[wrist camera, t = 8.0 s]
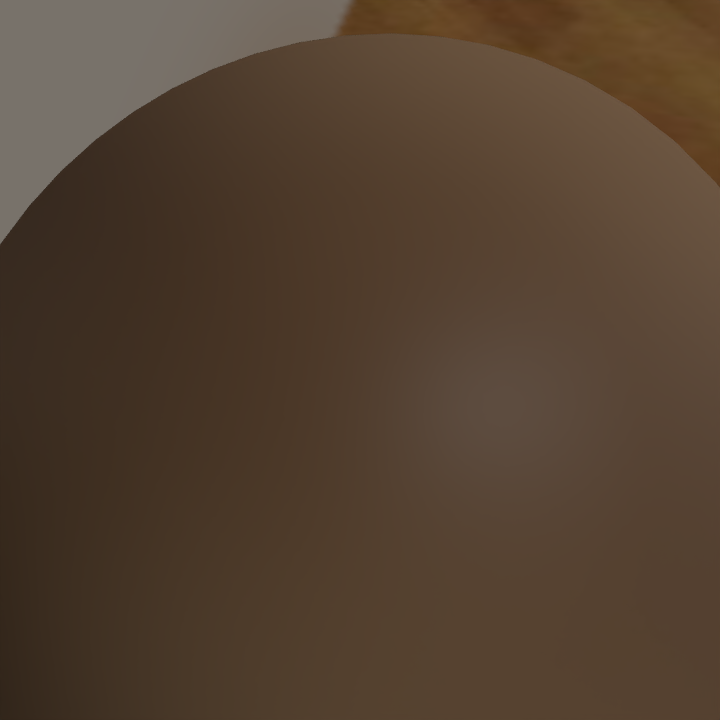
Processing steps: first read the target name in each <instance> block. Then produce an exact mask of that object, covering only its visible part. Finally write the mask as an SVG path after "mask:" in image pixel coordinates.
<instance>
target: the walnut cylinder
mask: <svg viewBox="0 0 720 720" xmlns="http://www.w3.org/2000/svg"><path fill="white" fill-rule="evenodd" d="M0 720H720V188H719V186H718V185H717V184H716V183H715V182H714V181H713V180H712V178H711V177H710V176H709V175H708V174H707V173H706V172H705V171H704V170H703V169H702V168H701V167H700V166H699V165H698V164H697V163H696V162H695V161H694V160H693V159H692V158H691V157H690V156H689V155H688V154H687V153H686V152H685V151H684V150H683V149H682V148H681V147H680V146H679V145H678V144H677V143H676V142H675V141H673V140H672V139H671V138H670V137H668V136H667V135H666V134H664V133H663V132H662V131H661V130H659V129H658V128H657V127H655V126H654V125H653V124H652V123H650V122H649V121H648V120H646V119H645V118H644V117H642V116H641V115H640V114H639V113H637V112H636V111H635V110H633V109H632V108H631V107H629V106H627V105H626V104H624V103H622V102H621V101H619V100H617V99H616V98H614V97H612V96H610V95H609V94H607V93H605V92H604V91H602V90H600V89H599V88H597V87H595V86H593V85H592V84H590V83H588V82H587V81H585V80H583V79H580V78H578V77H576V76H574V75H571V74H569V73H567V72H564V71H562V70H560V69H557V68H555V67H553V66H551V65H548V64H546V63H544V62H541V61H539V60H537V59H533V58H530V57H527V56H523V55H520V54H517V53H513V52H510V51H507V50H503V49H500V48H497V47H493V46H490V45H485V44H479V43H474V42H468V41H462V40H457V39H451V38H446V37H439V36H423V35H408V34H370V35H346V36H339V37H332V38H326V39H319V40H312V41H307V42H299V43H295V44H291V45H288V46H284V47H280V48H276V49H272V50H268V51H264V52H260V53H256V54H253V55H250V56H248V57H245V58H242V59H239V60H237V61H234V62H231V63H228V64H226V65H223V66H220V67H218V68H215V69H212V70H210V71H208V72H206V73H204V74H202V75H200V76H197V77H195V78H193V79H191V80H189V81H187V82H185V83H183V84H181V85H179V86H177V87H175V88H172V89H171V90H169V91H167V92H166V93H164V94H162V95H161V96H159V97H157V98H156V99H154V100H153V101H151V102H149V103H147V104H146V105H144V106H143V107H141V108H139V109H137V110H136V111H134V112H133V113H131V114H130V115H128V116H127V117H126V118H124V119H123V120H122V121H120V122H119V123H118V124H116V125H115V126H114V127H112V128H111V129H110V130H108V131H107V132H106V133H104V134H103V135H102V136H100V137H99V138H98V139H96V140H95V141H94V142H93V143H92V144H91V145H89V146H88V147H87V148H86V149H85V150H84V151H83V152H82V153H81V154H80V155H78V156H77V157H76V158H75V159H74V160H73V161H72V162H71V163H70V164H68V165H67V166H66V167H65V168H64V169H63V170H62V171H61V172H60V173H59V174H58V175H57V176H56V177H55V178H54V180H52V182H51V183H50V184H49V185H48V186H47V187H46V188H45V189H44V190H43V192H42V193H41V194H40V195H39V196H38V197H37V198H36V199H35V200H34V201H33V202H32V203H31V205H30V206H29V207H28V208H27V210H26V211H25V212H24V214H23V215H22V216H21V218H20V219H19V220H18V222H17V223H16V224H15V226H14V227H13V228H12V230H11V231H10V232H9V234H8V235H7V236H6V238H5V239H4V240H3V241H2V243H1V244H0Z"/></svg>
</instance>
